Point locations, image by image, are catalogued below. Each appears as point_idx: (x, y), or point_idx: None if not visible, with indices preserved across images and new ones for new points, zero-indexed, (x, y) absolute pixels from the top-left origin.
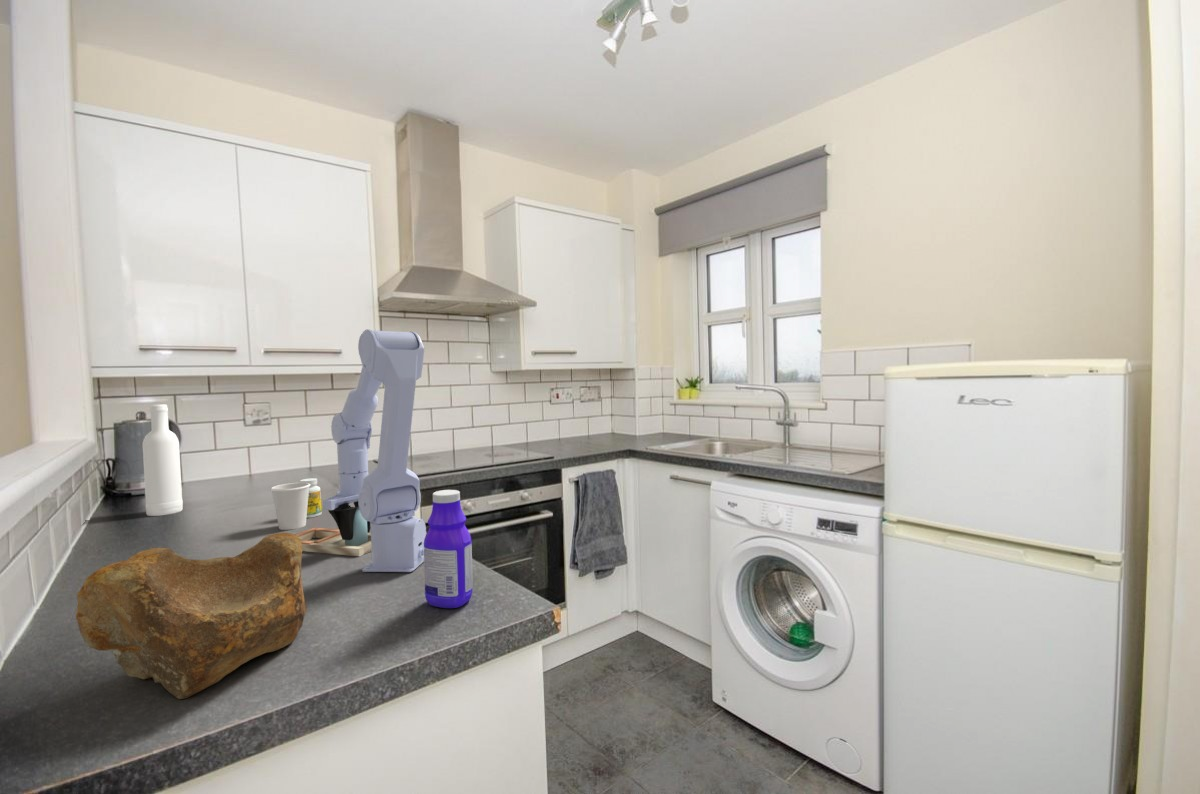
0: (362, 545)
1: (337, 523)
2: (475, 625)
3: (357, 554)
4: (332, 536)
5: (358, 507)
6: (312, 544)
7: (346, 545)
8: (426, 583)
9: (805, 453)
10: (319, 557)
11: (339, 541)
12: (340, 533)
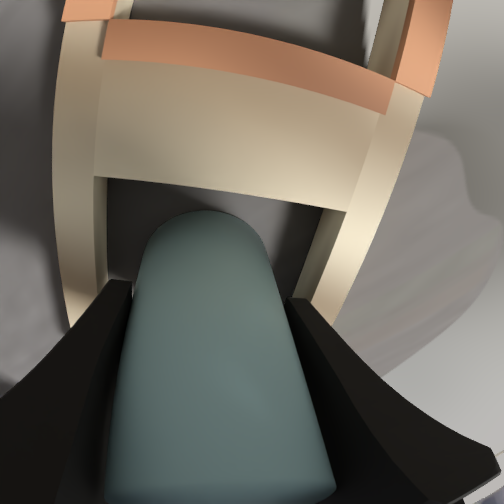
0: None
1: (42, 370)
2: None
3: None
4: (264, 77)
5: (318, 493)
6: (67, 42)
7: (141, 262)
8: None
9: (498, 455)
10: (15, 175)
11: (187, 183)
12: (90, 305)
